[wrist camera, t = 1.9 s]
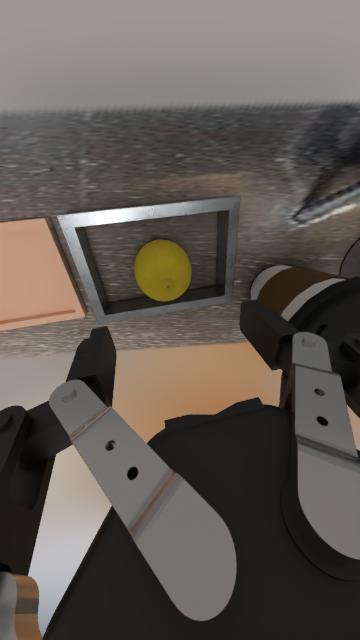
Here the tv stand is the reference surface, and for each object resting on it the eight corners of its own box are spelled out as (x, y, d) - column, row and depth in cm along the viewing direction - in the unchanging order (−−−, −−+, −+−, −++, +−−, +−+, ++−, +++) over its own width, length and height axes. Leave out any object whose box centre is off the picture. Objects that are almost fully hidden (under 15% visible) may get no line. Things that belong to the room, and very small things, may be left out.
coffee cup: (220, 311, 28) (265, 376, 19) (259, 234, 23) (350, 266, 14) (278, 325, 32) (341, 384, 22) (323, 260, 27) (431, 300, 17)
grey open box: (227, 195, 20) (240, 196, 18) (223, 291, 27) (232, 301, 24) (67, 212, 19) (56, 215, 16) (102, 310, 25) (98, 324, 22)
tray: (49, 216, 19) (44, 218, 18) (87, 311, 25) (85, 316, 24) (-77, 230, 17) (-90, 232, 16) (-5, 326, 23) (-11, 332, 22)
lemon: (123, 255, 22) (118, 283, 15) (162, 221, 21) (174, 235, 14) (155, 290, 25) (163, 326, 18) (191, 261, 24) (213, 289, 17)
